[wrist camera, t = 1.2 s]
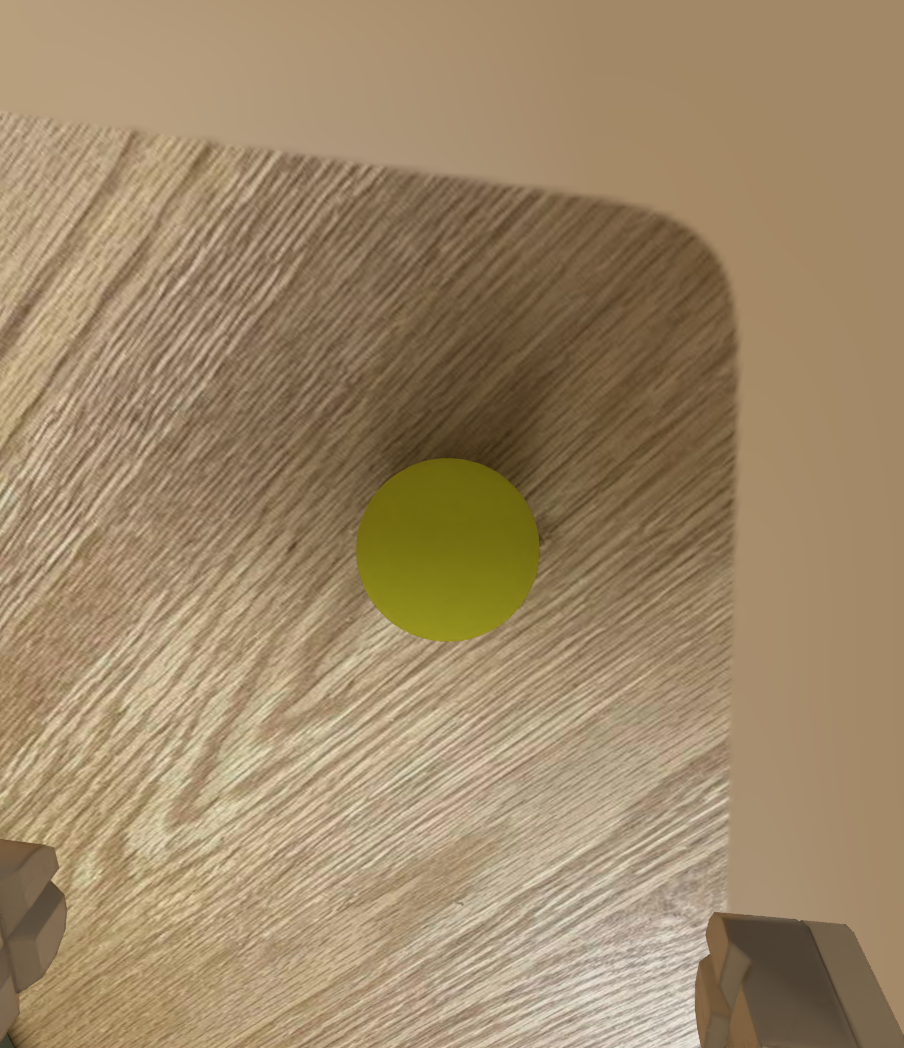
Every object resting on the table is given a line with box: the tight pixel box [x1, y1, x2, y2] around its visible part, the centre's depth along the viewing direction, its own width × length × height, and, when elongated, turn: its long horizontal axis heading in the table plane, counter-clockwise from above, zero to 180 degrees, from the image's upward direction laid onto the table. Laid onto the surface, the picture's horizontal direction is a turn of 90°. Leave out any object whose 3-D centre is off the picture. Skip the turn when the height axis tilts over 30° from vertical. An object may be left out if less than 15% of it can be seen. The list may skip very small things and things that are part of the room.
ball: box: [356, 458, 540, 642], centre depth 19 cm, size 5×5×5 cm
